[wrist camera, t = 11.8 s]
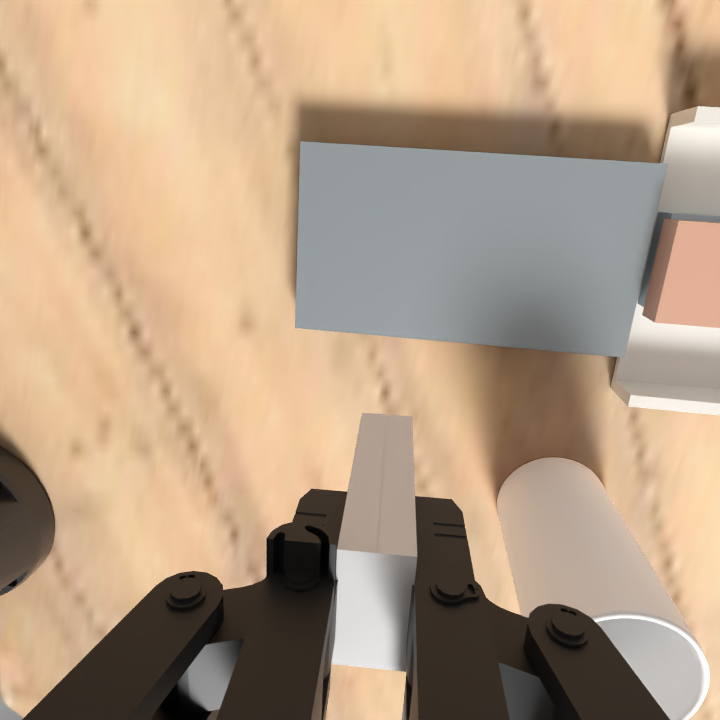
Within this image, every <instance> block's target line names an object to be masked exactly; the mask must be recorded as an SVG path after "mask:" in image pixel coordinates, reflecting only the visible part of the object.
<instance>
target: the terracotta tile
mask: <svg viewBox="0 0 720 720" xmlns="http://www.w3.org/2000/svg"><path fill="white" fill-rule="evenodd" d="M642 315H643V316H644V317H646V318H648V319H649V320H651V321H653V322H654V323H666V324H677V325H689V326H701V327H713V328H720V222H707V221H692V220H678V219H664V221H663V226H662V230H661V234H660V239H659V243H658V247H657V252H656V256H655V261H654V265H653V269H652V274H651V278H650V282H649V287H648V291H647V296H646V300H645V304H644V309H643V313H642Z"/></svg>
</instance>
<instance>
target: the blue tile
mask: <svg viewBox="0 0 720 720" xmlns="http://www.w3.org/2000/svg"><path fill="white" fill-rule="evenodd" d="M664 219H678V220H692V221H707V222H720V216H715V215H700V214H685V213H671V212H659V213H658V217H657V221H656V226H655V230H654V235H653V239H652V244H651V248H650V253H649V257H648V262H647V266H646V270H645V275H644V279H643V284H642V288H641V293H640V297H639V302H638V304H639V305H641V306H642V307H644V304H645V300H646V296H647V291H648V287H649V282H650V278H651V274H652V269H653V265H654V261H655V256H656V252H657V247H658V243H659V239H660V234H661V230H662V226H663V221H664Z"/></svg>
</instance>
